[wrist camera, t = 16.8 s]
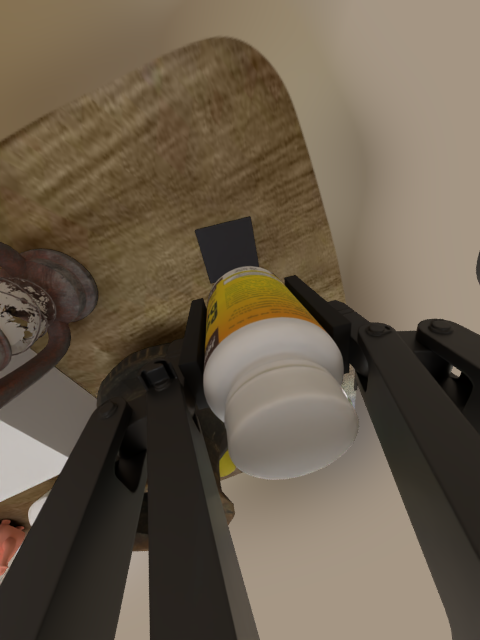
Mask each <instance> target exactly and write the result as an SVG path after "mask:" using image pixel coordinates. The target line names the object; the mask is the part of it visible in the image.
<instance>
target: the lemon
mask: <svg viewBox="0 0 480 640" xmlns="http://www.w3.org/2000/svg"><path fill="white" fill-rule="evenodd" d="M235 467H236V466H235V465H234V463H233V462H232V460H231V458H230V455H229V451H228V450H227V451H226V453H225V454H224V455H223V457H222V458H221V459H220V461H219V470H220V477H223V476H227V475H228V474H230V473H231V472H233V471H234V470H235Z"/></svg>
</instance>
